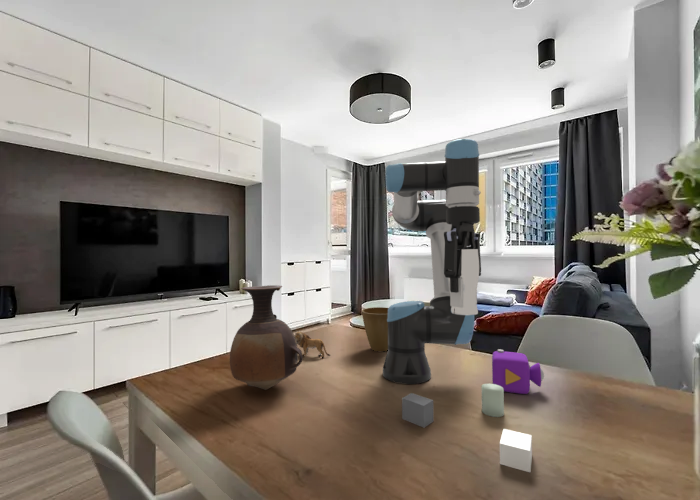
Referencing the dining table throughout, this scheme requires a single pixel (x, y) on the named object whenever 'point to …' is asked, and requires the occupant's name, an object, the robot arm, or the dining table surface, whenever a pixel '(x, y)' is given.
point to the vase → (264, 344)
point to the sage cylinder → (492, 400)
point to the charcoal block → (417, 410)
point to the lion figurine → (309, 343)
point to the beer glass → (468, 282)
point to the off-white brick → (516, 450)
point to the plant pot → (376, 327)
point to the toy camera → (514, 372)
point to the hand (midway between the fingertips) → (464, 304)
